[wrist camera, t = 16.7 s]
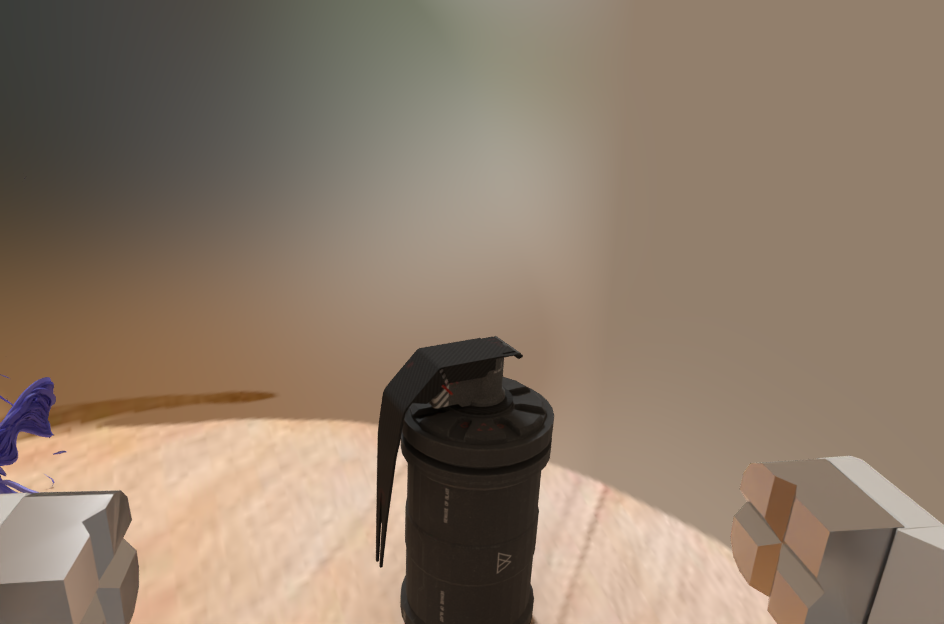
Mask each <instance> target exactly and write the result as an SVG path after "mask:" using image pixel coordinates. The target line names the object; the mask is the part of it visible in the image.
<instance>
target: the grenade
mask: <svg viewBox="0 0 944 624" xmlns="http://www.w3.org/2000/svg"><path fill="white" fill-rule="evenodd" d="M509 356H515V357H516V358H518V359H520V358H521V357H523V355H521V353H520V352H518V351H517V350H515V349H514V348H513V347H511V346H510V345H508V344H507V343H505V342H504V341H502V340H501V339H499V338H498V337H496V336H495V337H488V338H482V339H481V338H477V339H471V340H465V341H460V342H454V343H448V344H442V345H436V346H430V347H425V348H419V349H418V350H416V352H415V353H414V354H413V355H412V356H411V358H410V359H409V360H408V361H407V362H406V364H405V365H404V366H403V367H402V368H401V369H400V371H399V372H398V373H397V374H396V376H395V377H394V378H393V379H392V380H391V381H390V383H389V384H388V386H387V387H386V388H385V390H384V392H383V397H382V404H381V411H380V419H379V427H378V454H377V511H376V561H377V562H378V561H379V552H380V568H381V567H383V558H384V549H385V540H386V532H387V523H388V515H389V508H390V501H391V494H392V486H393V479H394V472H395V465H396V458H397V453H398V449H399V445H400V439H401V450H402V454H403V456H404V458H405V459H406V461H407V462H408V483H407V500H406V518H405V542H406V576H405V578H404V581H403V583H402V587H401V613H402V617H403V620H404V622H405V624H530V622H531V619H532V611H533V602H534V596H533V589H532V586H531V584H530V582H531V571H532V561H533V554H534V551H535V544H536V534H537V524H538V514H539V509H538V499H539V489H540V478H541V470H542V469H543V468H544V467H545V466H546V464H547V462H548V461H549V458H550V451H551V442H552V430H553V421H554V413H553V409H552V407H551V405H550V404H549V402H548V401H547V400H546V399H545V398H544V397H543V396H542V395H540V394H539V393H537V392H536V391H534V390H532V389H530V388H528V387H526V386H524V385H523V384H521V383H519V382H517V381H515V380H512V379H508V378H505V377H503V364H504V357H509ZM381 523H382V531H381ZM380 534H381V549H380Z"/></svg>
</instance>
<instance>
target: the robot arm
mask: <svg viewBox="0 0 944 624" xmlns="http://www.w3.org/2000/svg"><path fill="white" fill-rule="evenodd" d="M740 490H741V492H742V494H743V496H744V497H745V499H746V501H747V502H746V503H745V504H744V506H743V507H742V508H741V509H740V510H739V511H738V512H737V513H736V514H735V515H734V518H733V524H732V531H731V544H732V551H733V557H734V559H735V562H736V564H737V567H738V569H739V571H740V573H741V574H742V576H743V577H744V578H745V580H746V581H747V583H748V584H749V585H750V586H751V587H753V588H755V589H757V590H758V591H760V592H762V593H763V594H765V595H767V596H768V597H769V601H768V612H769V613H770V614H771V616H772V617H773V619H774V620H775V621H776V623H777V624H944V525H943V524H941V522H939V521H938V520H937V519H936V518H934V517H933V516H932V515H931V514H929V513H928V512H927V511H926V510H924V509H923V508H922V507H921V506H919V505H918V504H917V503H915V502H914V501H913V500H912V499H911V498H909V497H908V496H907V495H906V494H904V493H903V492H902V491H901V490H899V489H898V488H897V487H895V486H894V485H893V484H892V483H891V482H889V481H888V480H887V479H886V478H884V477H883V476H882V475H881V474H879V473H878V472H877V471H876V470H875V469H873V468H872V467H871V466H869V465H868V464H867V463H866V462H864V461H863V460H862V459H859V458H856V457H852V456H841V457H828V458H817V459H812V460H795V461H779V462H763V463H750V464H749V466H748V467H747V469H746V470H745V472H744V473H743V477H742V481H741V486H740ZM131 521H132V518H131V513H130V508H129V503H128V498H127V496H126V495H125V494H124V493H123V492H122V491H121V490H120V491H81V492H41V493H32V494H30V493H11V494H0V624H129V623H130V621H131V618H132V616H133V613H134V609H135V604H136V599H137V593H138V588H139V565H138V558H137V550H135V549H134V548H133V547H132V546H131V545H130V544H129V543H128V542H127V541H126V540H125V539H123V537H124V535H125V533H126V531H127V529H128V527H129V525H130V523H131Z"/></svg>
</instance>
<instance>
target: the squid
mask: <svg viewBox="0 0 944 624" xmlns="http://www.w3.org/2000/svg"><path fill="white" fill-rule="evenodd" d="M2 376H3V375H2ZM4 377H6V376H4ZM7 378H8V377H7ZM43 382H44V383H43ZM53 388H54V384H53V382H51V380H50V378H49V377H45V378H42V379H39V380H37V381H35V382H34V383H33V384H31V385H30V386H29V387H28V388H27V389H26V390H25V391H24V392H23V393H22V394H21V395H20V397H19V398H18V399H17V401H16V402H15V403H14V405H13V404H12V403H10V402H9V401H8V400H5V399H4V398H3V397H1V396H0V398H1V399H3V400H4V401H6V402H8V403H10V404H11V405H12V408H11V409H10V411H9V412H8V414H7V415H6V417H5V418H4V420H3V421H2V422H1V423H0V466H4V465H11V464H13V463H14V462H16V461H17V459H18V451H17V448H16V440H17V435H18V433H19V432H20V431H23V432H27V433H31V434H35V435H38V436H42V437H49V438H50V437H51V436H52V435H53V434H52V432H51V429H50V424H49V421H48V416H49V411H50V409H51V406H52V405H53V404H55V401H56V397H55V395H54V394H53ZM31 393H32V394H31ZM64 452H66V451H59V452H57V453H54V454H61V453H64ZM54 454H53V455H54ZM0 474H1V475H4V476H6V473H5V472H4V470H3V469H2V468H1V467H0ZM46 476H47V475H46ZM6 477H7V476H6ZM49 478H50V477H49ZM50 479H52V478H50ZM52 481H53V479H52ZM53 484H54V481H53ZM6 485H8V486H10V487H13V488H15V489H17V490H19V491H21V492H23V493H30V494H32V493H39V492H36V491H33V490H30V489H28V488H26V487H24V486H22V485H20V484H18V483H16V482H13V481H10V480H2V479H1V476H0V494H11V493H17V492H15V491H13V490H12V489H10V488H9V487H7V486H6ZM52 486H53V485H52Z"/></svg>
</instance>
